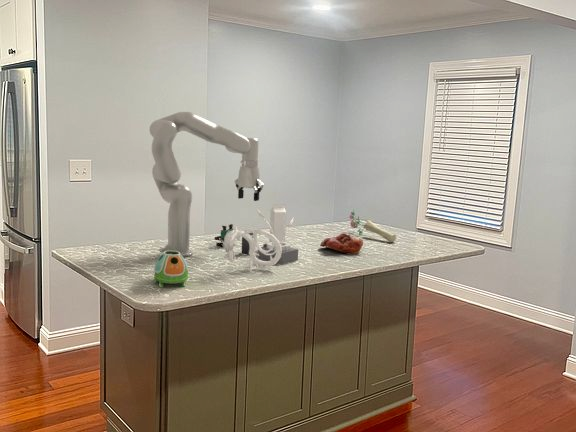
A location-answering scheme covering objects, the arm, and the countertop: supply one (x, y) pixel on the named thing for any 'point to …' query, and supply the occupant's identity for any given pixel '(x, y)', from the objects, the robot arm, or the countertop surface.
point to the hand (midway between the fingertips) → (248, 199)
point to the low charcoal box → (287, 253)
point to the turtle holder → (171, 268)
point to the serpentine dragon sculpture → (252, 242)
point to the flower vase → (372, 228)
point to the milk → (278, 222)
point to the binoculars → (224, 234)
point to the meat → (343, 243)
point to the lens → (245, 245)
